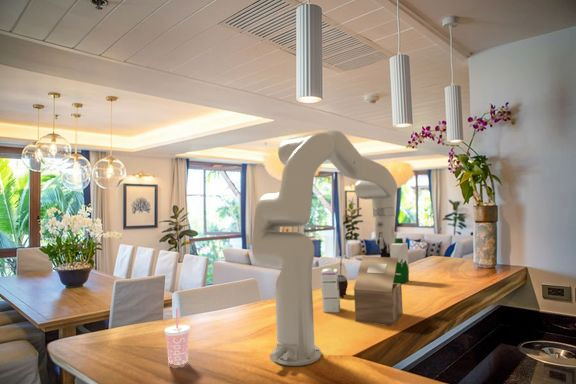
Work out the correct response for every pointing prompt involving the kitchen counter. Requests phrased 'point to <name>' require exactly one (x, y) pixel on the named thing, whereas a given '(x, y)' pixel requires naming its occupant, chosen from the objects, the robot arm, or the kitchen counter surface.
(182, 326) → the beverage cup
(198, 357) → the kitchen counter surface
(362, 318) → the carton
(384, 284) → the carton flap
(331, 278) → the syrup box
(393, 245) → the milk carton
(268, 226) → the robot arm
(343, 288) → the mate gourd
